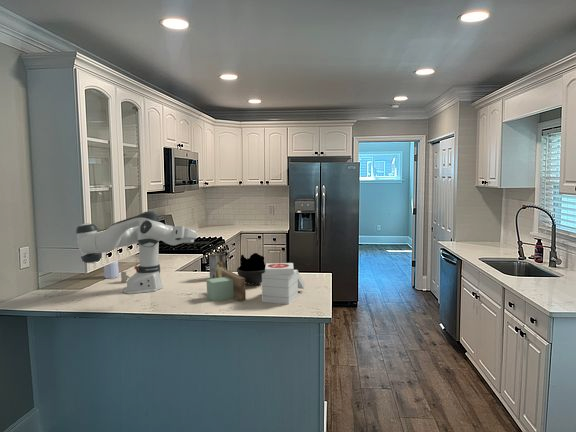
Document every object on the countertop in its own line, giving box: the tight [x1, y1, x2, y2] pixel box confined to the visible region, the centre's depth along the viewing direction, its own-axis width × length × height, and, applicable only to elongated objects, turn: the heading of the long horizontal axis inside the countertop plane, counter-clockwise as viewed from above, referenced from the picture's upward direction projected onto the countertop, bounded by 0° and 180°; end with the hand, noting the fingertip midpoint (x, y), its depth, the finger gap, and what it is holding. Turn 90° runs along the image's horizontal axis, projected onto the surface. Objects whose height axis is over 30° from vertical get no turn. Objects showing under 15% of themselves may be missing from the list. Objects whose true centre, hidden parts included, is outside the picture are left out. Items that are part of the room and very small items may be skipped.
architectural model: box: [120, 270, 131, 284], centre depth 277 cm, size 3×7×7 cm, turn 52°
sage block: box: [206, 277, 234, 302], centre depth 238 cm, size 12×9×10 cm
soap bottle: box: [103, 260, 120, 279], centre depth 290 cm, size 9×9×25 cm
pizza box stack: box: [261, 262, 306, 305], centre depth 238 cm, size 19×30×18 cm, turn 160°
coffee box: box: [208, 252, 227, 279], centre depth 282 cm, size 9×6×16 cm
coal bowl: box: [236, 252, 266, 286], centre depth 266 cm, size 20×20×19 cm
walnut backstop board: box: [221, 269, 247, 302], centre depth 242 cm, size 3×26×12 cm, turn 30°
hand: (192, 241), depth 235 cm, fingers closed
